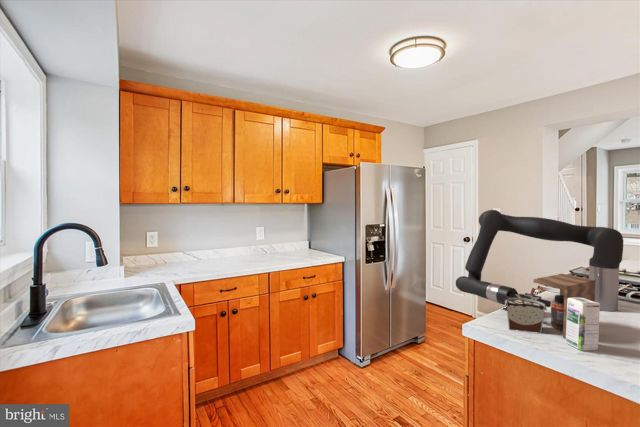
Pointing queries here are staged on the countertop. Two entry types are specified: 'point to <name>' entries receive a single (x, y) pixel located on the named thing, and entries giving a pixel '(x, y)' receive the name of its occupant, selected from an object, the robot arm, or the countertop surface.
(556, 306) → the supplement bottle
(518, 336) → the countertop surface
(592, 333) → the syrup box
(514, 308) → the food container
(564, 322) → the walnut cubby
